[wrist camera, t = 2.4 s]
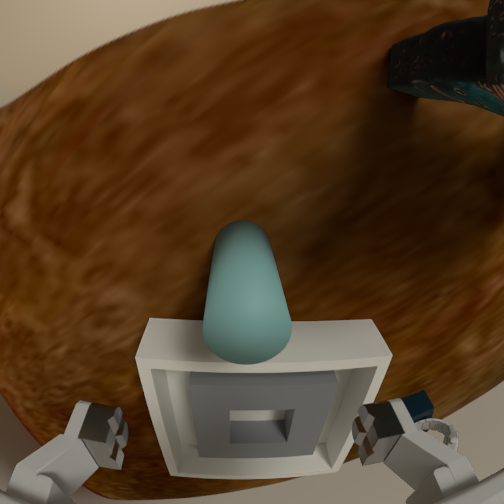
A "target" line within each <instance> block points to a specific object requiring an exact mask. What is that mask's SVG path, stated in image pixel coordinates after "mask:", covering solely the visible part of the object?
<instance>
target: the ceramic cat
mask: <svg viewBox="0 0 504 504" xmlns="http://www.w3.org/2000/svg"><path fill="white" fill-rule="evenodd" d="M387 87H388V88H391V89H394V90H397V91H400V92H403V93H406V94H409V95H412V96H415V97H420V98H429V99H436V100H446V101H454V102H461V103H466V104H470V105H475V106H478V107H481V108H483V109H486V110H489V111H491V112H494V113H496V114H498V115H501V116H503V117H504V0H490V2H489V6H488V15H484V16H480V17H473V18H467V19H463V20H456V21H450V22H446V23H443V24H441V25H438V26H436V27H434V28H432V29H430V30H429V31H427V32H425V33H421V34H418V35H415V36H412V37H409V38H406V39H404V40H402V41H400V42H398V43H396V44H394V45H392V48H391V54H390V65H389V76H388V84H387Z"/></svg>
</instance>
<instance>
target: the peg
mask: <svg viewBox="0 0 504 504" xmlns="http://www.w3.org/2000/svg"><path fill="white" fill-rule="evenodd" d="M202 333H203V338H204V341H205V343H206V345H207V346H208V348H209V349H210V350H211V351H212V352H213V353H214V354H215V355H216V356H218V357H219V358H221V359H223V360H225V361H228V362H230V363H234V364H241V365H251V364H258V363H262V362H265V361H267V360H269V359H272V358H273V357H275V356H276V355H278V354H279V353H280V352H281V351H282V350H283V349H284V348H285V347H286V345H287V344H288V342H289V340H290V337H291V333H292V323H291V319H290V315H289V312H288V308H287V304H286V300H285V297H284V293H283V289H282V285H281V282H280V278H279V274H278V271H277V267H276V263H275V259H274V256H273V252H272V249H271V245H270V241H269V238H268V236H267V234H266V232H265V231H264V230H263V229H262V228H261V227H260V226H259V225H257V224H255V223H253V222H250V221H235V222H232V223H230V224H228V225H226V226H225V227H224V228H222V229H221V230H220V232H219V233H218V235H217V237H216V240H215V244H214V251H213V257H212V264H211V270H210V277H209V284H208V291H207V298H206V305H205V312H204V319H203V327H202Z"/></svg>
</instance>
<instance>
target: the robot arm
mask: <svg viewBox="0 0 504 504" xmlns="http://www.w3.org/2000/svg"><path fill="white" fill-rule="evenodd" d="M122 414H123V413H122V411H121V408H120V407H115V406H109V405H103V404H97V403H92V402H87V401H81V400H79V401H78V402H77V403H76V406H75V408H74V410H73V413H72V415H71V418H70V420H69V423H68V425H67V428H66V430H65V433H64V435H62V434H60V435H58V436H57V437H55V438H54V439H53V440H51V441H50V442H48V443H47V444H45V445H44V446H43V447H41V448H40V449H38V450H37V451H35V452H34V453H32V454H31V455H30V456H28V457H27V458H25V459H24V460H23V461H21V462H19V463H18V464H17V465H16V467H15V470H14V472H13V475H12V477H11V480H10V482H9V485H8V488H7V490H6V492H4V491H2V490H0V504H76V503H75V502H73V501H72V499H71V498H69V496H70V495H72V494H73V493H74V491H76V489H78V488H79V487H80V486H81V485H82V484H83V483H84V482H85V481H86V480H87V479H88V478H89V477H90V476H91V475H92V474H93V473H94V472H95V471H96V470H97V469H98V468H99V467H98V466H100V467H106V468H112V469H118V470H121V467H122V462H123V458H124V454H123V452H122V450H121V449H122V448H123V447H125V446H126V445H127V440H128V427H127V423H126V421H125V420H124V419H122V418H121V417H122ZM358 414H359V416H357V417H356V418H355V419H354V421H353V424H352V436H353V439H354V442H355V443H356V444H358V445H359V446H360V447H359V450H358V454H359V457H360V460H361V463H362V466H364V465H370V464H375V463H380V462H384V464H385V465H386V466H388V467H389V468H390V469H391V470H392V471H393V472H394V473H396V474H397V475H398V476H399V477H401V479H403V480H404V481H405V482H406V483H407V484H409V485H410V486H411V487H412V488H413V489H414V490H415V491H414V492H413V493H412V494H411V496H409V497H408V499H407V500H406V504H504V468H503V469H501V470H500V471H498V472H496V473H494V474H492V475H491V476H489V477H487V478H485V479H483V480H481V481H478V479H477V477H476V475H475V473H474V471H473V469H472V467H471V466H470V463H469V462H468V460H467V458H466V457H465V456H464V455H462V454H460V453H459V452H457V451H455V450H454V449H452V448H450V447H449V446H447V445H445V444H444V443H442V442H440V441H439V440H437V439H435V438H434V437H432V436H430V435H429V434H427V433H426V432H424V431H423V430H417V428H416V426H415V424H414V422H413V420H412V418H411V416H410V414H409V412H408V410H407V408H406V407H405V405H404V403H403V401H402V400H401V399H400V398H398V399H392V400H388V401H386V400H385V401H380V402H375V403H369V404H363V405H361V406H360V407H359V409H358Z"/></svg>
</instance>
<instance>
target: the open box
mask: <svg viewBox="0 0 504 504" xmlns="http://www.w3.org/2000/svg"><path fill="white" fill-rule="evenodd" d="M291 323H292V333H291V337H290V340H289V342H288V344H287V345H286V347H285V348H284V349H283V350H282V351H281V352H280V353H279V354H278V355H276V356H275V357H273V358H272V359H269V360H267V361H265V362H262V363H258V364H251V365H241V364H234V363H230V362H228V361H225V360H223V359H221V358H219V357H218V356H216V355H215V354H214V353H213V352H212V351H211V350H210V349H209V348H208V346H207V345H206V343H205V341H204V338H203V333H202V327H203V320H179V319H160V318H149V321H148V324H147V326H146V329H145V332H144V334H143V337H142V340H141V342H140V345H139V348H138V351H137V353H136V356H135V359H136V363H137V367H138V372H139V376H140V379H141V383H142V387H143V391H144V395H145V398H146V402H147V405H148V409H149V412H150V416H151V419H152V422H153V426H154V429H155V432H156V435H157V438H158V441H159V444H160V447H161V450H162V453H163V456H164V459H165V462H166V465H167V468H168V470H169V473H170V475H171V476H181V477H194V478H211V479H267V478H285V477H298V476H307V475H317V474H325V473H333V472H338V470H339V469H340V467H341V465H342V463H343V462H344V460H345V458H346V456H347V454H348V452H349V451H350V449H351V447H352V445H353V443H354V439H353V436H352V424H353V421H354V419H355V418H356V417H357V416H359V414H358V409H359V407H360V406H361V405H363V404H369V403H373V402H374V399H375V397H376V395H377V392H378V390H379V388H380V386H381V383H382V381H383V378H384V376H385V373H386V371H387V368H388V366H389V363H390V361H391V358H392V356H393V355H392V353H391V351H390V350H389V348H388V346H387V344H386V343H385V341H384V339H383V338H382V336H381V334H380V333H379V331H378V329H377V328H376V326H375V324H374V323H373V321H372V319H362V320H338V321H292V322H291Z"/></svg>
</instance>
